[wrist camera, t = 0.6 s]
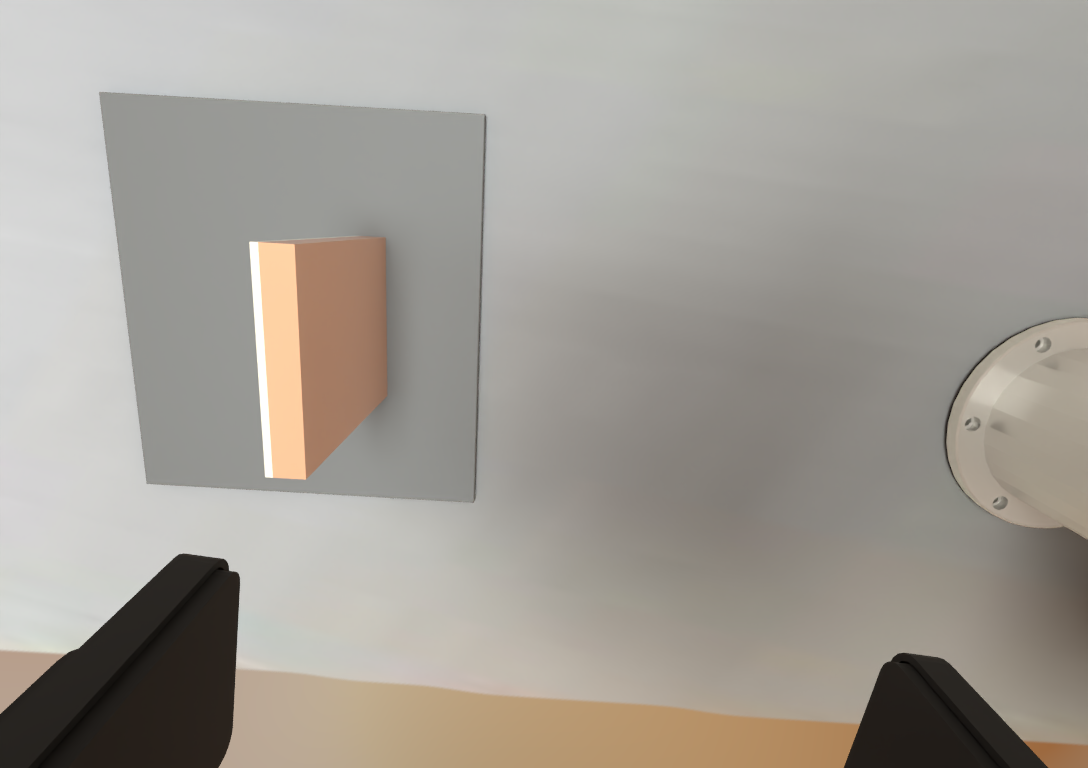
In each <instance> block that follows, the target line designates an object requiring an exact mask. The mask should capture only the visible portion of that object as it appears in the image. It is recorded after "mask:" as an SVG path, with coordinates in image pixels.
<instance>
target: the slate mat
mask: <svg viewBox="0 0 1088 768" xmlns="http://www.w3.org/2000/svg"><path fill="white" fill-rule="evenodd" d="M99 95H100V103H101V112H102V120H103V128H104V136H105V144H106V153H107V161H108V169H109V177H110V185H111V194H112V202H113V210H114V218H115V226H116V235H117V243H118V251H119V259H120V267H121V276H122V284H123V292H124V300H125V308H126V317H127V325H128V333H129V341H130V349H131V358H132V366H133V374H134V382H135V390H136V399H137V407H138V415H139V423H140V431H141V440H142V448H143V456H144V464H145V472H146V481H147V484H159V485H176V486H194V487H211V488H228V489H246V490H263V491H280V492H297V493H315V494H332V495H349V496H366V497H384V498H401V499H418V500H436V501H453V502H470V503H473V502H474V499H475V470H476V435H477V400H478V365H479V330H480V295H481V260H482V225H483V190H484V155H485V120H486V116H485V114H473V113H455V112H438V111H420V110H403V109H386V108H368V107H351V106H333V105H316V104H299V103H281V102H264V101H246V100H229V99H212V98H194V97H177V96H159V95H142V94H125V93H107V92H99ZM341 236H372V237H386V317H387V397H386V398H385V399H384V400H383V401H382V402H381V403H380V404H379V405H378V406H377V407H376V408H375V409H374V410H373V411H372V412H371V413H370V414H369V415H368V416H367V417H366V418H365V419H364V420H363V421H362V422H361V423H360V424H359V425H358V426H357V428H356V429H355V430H354V431H353V432H352V433H351V434H350V435H349V436H348V437H347V438H346V439H345V440H344V441H343V442H342V443H341V444H340V445H339V446H338V447H337V448H336V449H335V450H334V451H333V452H332V453H331V454H330V455H329V456H328V457H327V458H326V459H325V461H324V462H323V463H322V464H321V465H320V466H319V467H318V468H317V469H316V470H315V471H314V472H313V473H312V474H311V475H310V476H309V477H308V478H307V479H306V480H304V479H287V478H270V477H265V466H264V452H263V437H262V422H261V407H260V392H259V377H258V363H257V348H256V333H255V318H254V303H253V288H252V274H251V259H250V244H249V242H254V241H271V240H288V239H306V238H323V237H341Z"/></svg>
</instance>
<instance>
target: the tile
mask: <svg viewBox="0 0 1088 768" xmlns="http://www.w3.org/2000/svg"><path fill="white" fill-rule="evenodd" d="M249 244H250V259H251V274H252V288H253V303H254V318H255V333H256V348H257V363H258V377H259V392H260V407H261V422H262V437H263V452H264V466H265V477H270V478H287V479H304V480H306V479H307V478H308V477H309V476H310V475H311V474H312V473H313V472H314V471H315V470H316V469H317V468H318V467H319V466H320V465H321V464H322V463H323V462H324V461H325V459H326V458H327V457H328V456H329V455H330V454H331V453H332V452H333V451H334V450H335V449H336V448H337V447H338V446H339V445H340V444H341V443H342V442H343V441H344V440H345V439H346V438H347V437H348V436H349V435H350V434H351V433H352V432H353V431H354V430H355V429H356V428H357V426H358V425H359V424H360V423H361V422H362V421H363V420H364V419H365V418H366V417H367V416H368V415H369V414H370V413H371V412H372V411H373V410H374V409H375V408H376V407H377V406H378V405H379V404H380V403H381V402H382V401H383V400H384V399H385V398H386V397H387V317H386V237H372V236H341V237H323V238H306V239H288V240H271V241H254V242H249Z"/></svg>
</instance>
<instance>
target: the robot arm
mask: <svg viewBox="0 0 1088 768" xmlns="http://www.w3.org/2000/svg"><path fill="white" fill-rule="evenodd" d="M946 444H947V452H948V460H949V463H950V466H951V469H952V472H953V474H954V477H955V479H956V480H957V482H958V483H959V485H960V486H961V488H962V489H963V491H964V492H965V493H966V494H967V495H968V496H969V497H970V498H971V499H972V500H973V501H974V502H975V503H976V504H977V505H979V506H980V507H982V508H983V509H985V510H986V511H988V512H989V513H991V514H992V515H994V516H996V517H998V518H1001V519H1003V520H1005V521H1007V522H1009V523H1012V524H1017V525H1021V526H1025V527H1029V528H1047V529H1050V528H1059V527H1067V528H1068V529H1070V530H1072V531H1074V532H1075V533H1077V534H1079V535H1080V536H1082V537H1084V538H1085V539H1087V540H1088V318H1070V319H1063V320H1055V321H1051V322H1048V323H1045V324H1041V325H1038V326H1035V327H1032V328H1030V329H1028V330H1026V331H1024V332H1022V333H1020V334H1018V335H1016V336H1014V337H1012V338H1010V339H1009V340H1007V341H1006V342H1004V343H1003V344H1002V345H1000V346H999V347H997V348H996V349H995V350H993V351H992V352H991V353H990V354H989V355H988V356H987V357H986V358H985V359H984V360H983V361H982V362H981V363H980V364H979V365H978V366H977V367H976V368H975V369H974V371H973V372H972V373H971V375H970V376H969V377H968V379H967V380H966V382H965V383H964V384H963V386H962V388H961V390H960V392H959V394H958V396H957V398H956V400H955V402H954V404H953V408H952V411H951V415H950V418H949V421H948V428H947V440H946ZM239 591H240V577H239V574H238V573H237V572H232V571H229V566H228V563H227V561H226V560H224V559H220V558H212V557H205V556H198V555H191V554H179V555H178V556H176V557H175V558H174V559H173V560H172V561H171V562H170V563H168V564H167V565H166V566H165V567H164V568H163V569H162V570H161V571H160V572H159V573H158V574H157V575H156V576H155V577H154V578H153V579H152V580H151V581H150V582H148V583H147V584H146V585H145V586H144V587H143V588H142V589H141V590H140V591H139V592H138V593H137V594H136V595H135V596H134V597H133V598H132V599H131V600H129V601H128V602H127V603H126V604H125V605H124V606H123V607H122V608H121V609H120V610H119V611H118V612H117V613H116V614H115V615H114V616H113V617H112V618H111V619H109V620H108V621H107V622H106V623H105V624H104V625H103V626H102V627H101V628H100V629H99V630H98V631H97V632H96V633H95V634H94V635H93V636H92V637H91V638H89V639H88V640H87V641H86V642H85V643H84V644H83V645H82V646H81V647H80V648H79V649H76V650H73V651H71V652H69V653H67V654H66V655H65V656H63V657H62V658H61V659H59V660H58V661H57V662H56V663H55V664H54V665H53V666H51V667H50V668H49V669H48V670H47V671H46V672H45V673H44V674H43V675H42V676H41V677H40V678H39V679H37V681H35V682H34V683H33V684H32V685H31V686H30V687H29V688H28V689H27V690H26V691H25V692H24V693H23V694H22V695H20V696H19V697H18V698H17V699H16V700H15V701H14V702H13V703H12V704H11V705H10V706H9V707H8V708H7V709H6V710H4V711H3V712H2V713H1V714H0V768H218V767H219V766H220V764H221V762H222V760H223V758H224V756H225V754H226V751H227V749H228V746H229V742H230V739H231V735H232V728H233V710H234V689H235V670H236V650H237V630H238V611H239ZM844 768H1048V767H1047V766H1046V765H1045V764H1044V763H1043V762H1042V761H1041V760H1040V759H1039V758H1038V757H1037V755H1036V754H1034V752H1033V751H1032V750H1031V749H1030V748H1029V747H1028V746H1027V745H1026V744H1025V743H1024V742H1023V741H1022V740H1021V739H1020V737H1019V736H1018V735H1017V734H1016V733H1015V732H1014V731H1013V730H1012V729H1011V728H1010V727H1009V726H1008V725H1007V724H1006V723H1005V722H1004V721H1003V720H1002V718H1001V717H1000V716H999V715H998V714H997V713H996V712H995V711H994V710H993V709H992V708H991V707H990V706H989V705H988V704H987V703H986V702H985V701H984V699H983V698H982V697H981V696H980V695H979V694H978V693H977V692H976V691H975V690H974V689H973V688H972V687H971V686H970V685H969V684H968V683H967V681H966V680H965V679H964V678H963V677H962V676H961V675H960V674H959V673H958V672H957V671H956V670H955V669H954V668H953V667H952V666H951V665H950V664H949V663H948V662H947V661H945V660H944V659H941V658H938V657H931V656H923V655H916V654H909V653H899V654H897V655H896V656H895V657H893V659H892V661H891V662H887V663H885V664H884V665H883V667H882V668H881V670H880V673H879V676H878V678H877V681H876V684H875V686H874V689H873V692H872V694H871V697H870V700H869V702H868V705H867V708H866V710H865V713H864V716H863V718H862V721H861V724H860V726H859V729H858V732H857V734H856V737H855V740H854V742H853V745H852V748H851V750H850V753H849V756H848V758H847V761H846V763H845V766H844Z"/></svg>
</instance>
